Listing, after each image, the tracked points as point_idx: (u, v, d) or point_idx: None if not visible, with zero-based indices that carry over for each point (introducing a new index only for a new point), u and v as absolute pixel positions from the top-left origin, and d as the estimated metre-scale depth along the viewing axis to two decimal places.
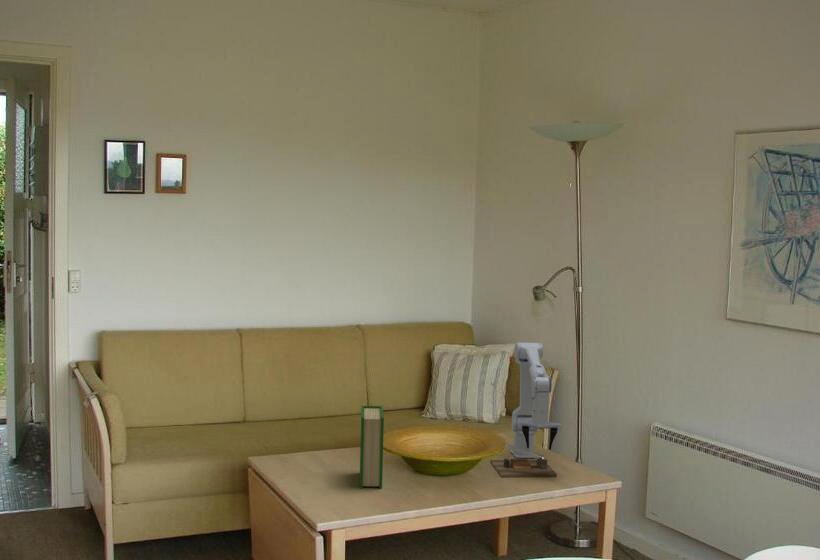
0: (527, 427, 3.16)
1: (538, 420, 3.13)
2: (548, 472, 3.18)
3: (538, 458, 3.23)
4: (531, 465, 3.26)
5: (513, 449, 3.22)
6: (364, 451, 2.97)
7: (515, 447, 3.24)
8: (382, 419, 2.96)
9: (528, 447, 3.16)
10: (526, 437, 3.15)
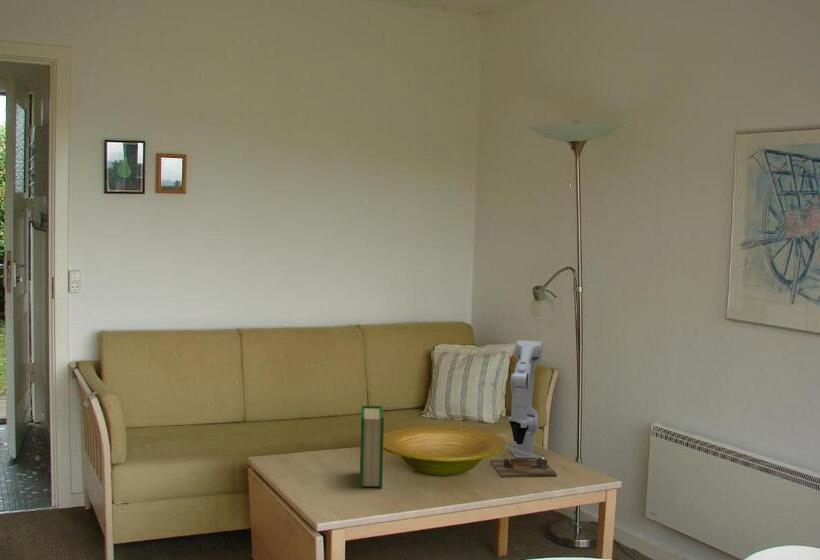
0: (515, 420, 3.25)
1: (511, 413, 3.23)
2: (548, 472, 3.18)
3: (538, 458, 3.23)
4: (531, 465, 3.26)
5: (513, 449, 3.22)
6: (364, 451, 2.97)
7: (515, 447, 3.24)
8: (382, 419, 2.96)
9: (514, 440, 3.25)
10: (512, 429, 3.25)
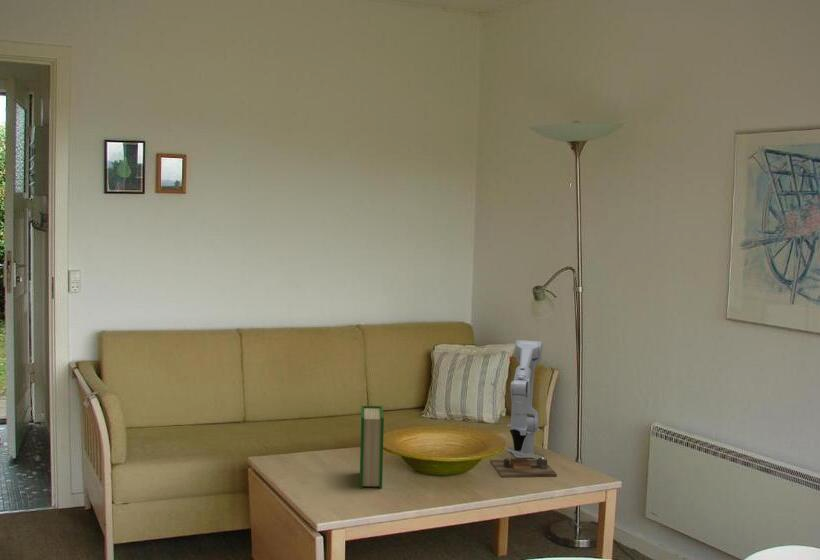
0: (515, 429, 3.23)
1: None
2: (548, 472, 3.18)
3: (538, 458, 3.23)
4: (531, 465, 3.26)
5: (512, 451, 3.22)
6: (364, 451, 2.97)
7: (514, 449, 3.24)
8: (382, 419, 2.96)
9: None
10: None
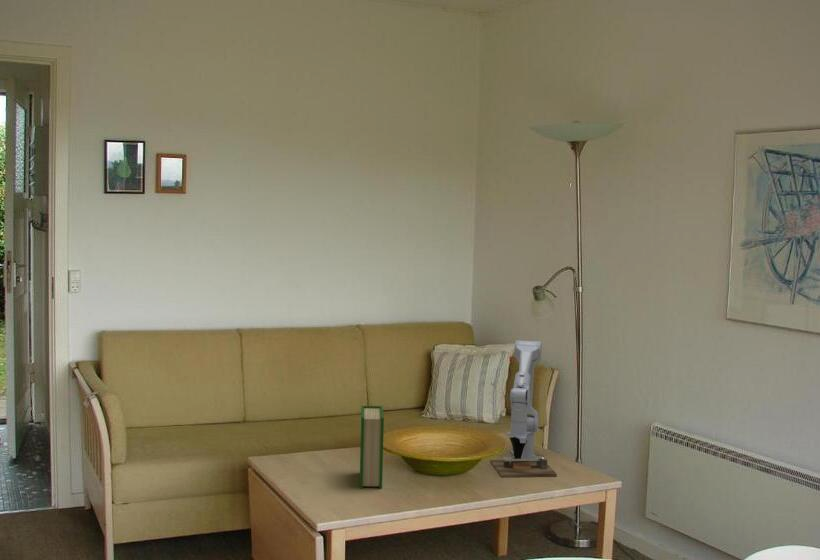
0: (515, 437, 3.24)
1: None
2: (548, 472, 3.18)
3: (538, 460, 3.23)
4: (531, 465, 3.26)
5: (511, 460, 3.22)
6: (364, 451, 2.97)
7: (513, 457, 3.24)
8: (382, 419, 2.96)
9: (514, 456, 3.24)
10: (512, 446, 3.24)
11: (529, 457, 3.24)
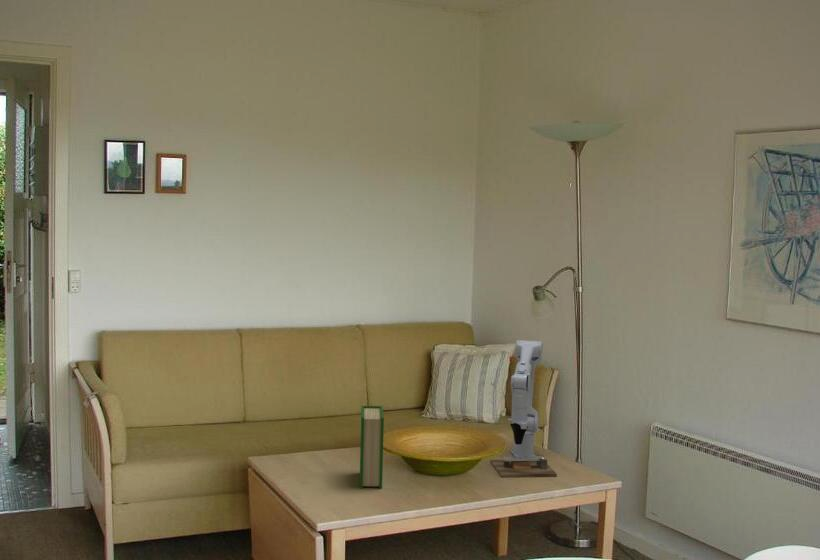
0: (516, 423, 3.23)
1: (511, 415, 3.23)
2: (548, 472, 3.18)
3: (538, 460, 3.23)
4: (531, 465, 3.26)
5: (511, 460, 3.22)
6: (364, 451, 2.97)
7: (513, 457, 3.24)
8: (382, 419, 2.96)
9: (515, 443, 3.23)
10: (513, 432, 3.24)
11: (529, 457, 3.24)
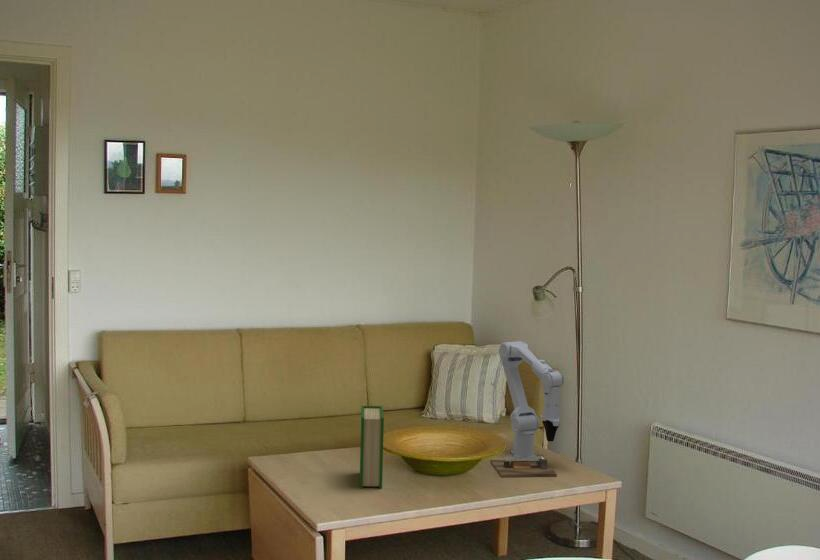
0: (548, 420, 3.29)
1: (543, 412, 3.28)
2: (548, 472, 3.18)
3: (538, 460, 3.23)
4: (531, 465, 3.26)
5: (511, 460, 3.22)
6: (364, 451, 2.97)
7: (513, 457, 3.24)
8: (382, 419, 2.96)
9: (547, 439, 3.29)
10: (545, 429, 3.29)
11: (529, 457, 3.24)
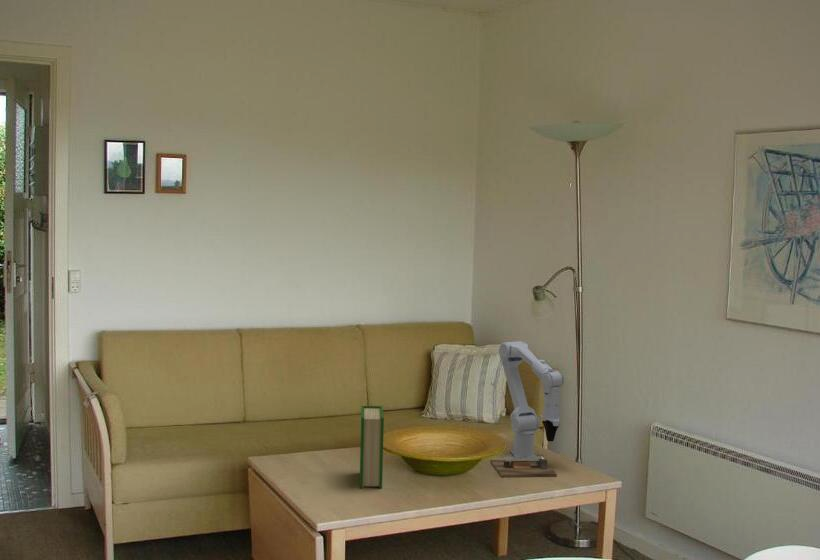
0: (548, 420, 3.29)
1: (543, 412, 3.28)
2: (548, 472, 3.18)
3: (538, 460, 3.23)
4: (531, 465, 3.26)
5: (511, 460, 3.22)
6: (364, 451, 2.97)
7: (513, 457, 3.24)
8: (382, 419, 2.96)
9: (547, 439, 3.29)
10: (545, 429, 3.29)
11: (529, 457, 3.24)
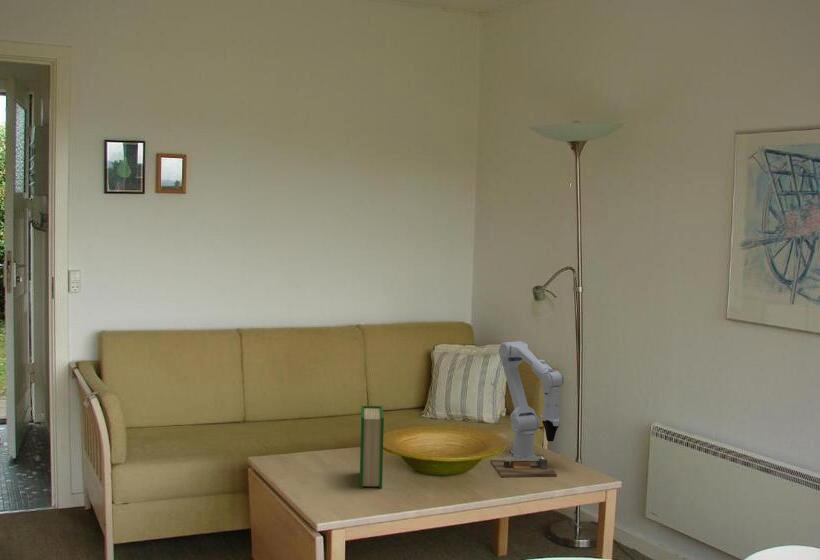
0: (548, 420, 3.29)
1: (543, 412, 3.28)
2: (548, 472, 3.18)
3: (538, 460, 3.23)
4: (531, 465, 3.26)
5: (511, 460, 3.22)
6: (364, 451, 2.97)
7: (513, 457, 3.24)
8: (382, 419, 2.96)
9: (547, 439, 3.29)
10: (545, 429, 3.29)
11: (529, 457, 3.24)
